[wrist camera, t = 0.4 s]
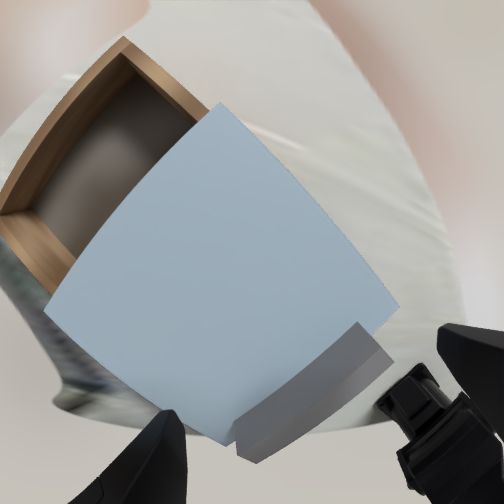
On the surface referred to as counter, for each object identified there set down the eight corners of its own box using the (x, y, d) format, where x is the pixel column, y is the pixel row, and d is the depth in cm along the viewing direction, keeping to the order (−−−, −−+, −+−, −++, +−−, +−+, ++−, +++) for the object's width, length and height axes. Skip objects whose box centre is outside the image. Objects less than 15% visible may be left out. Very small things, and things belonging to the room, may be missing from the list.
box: (282, 199, 20) (301, 205, 15) (148, 331, 21) (132, 368, 16) (143, 64, 16) (123, 35, 12) (27, 208, 18) (-12, 217, 13)
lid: (391, 300, 17) (427, 328, 13) (225, 436, 18) (227, 478, 14) (220, 107, 13) (220, 81, 9) (51, 304, 15) (17, 333, 11)
